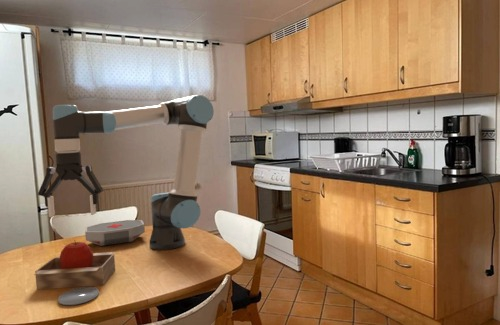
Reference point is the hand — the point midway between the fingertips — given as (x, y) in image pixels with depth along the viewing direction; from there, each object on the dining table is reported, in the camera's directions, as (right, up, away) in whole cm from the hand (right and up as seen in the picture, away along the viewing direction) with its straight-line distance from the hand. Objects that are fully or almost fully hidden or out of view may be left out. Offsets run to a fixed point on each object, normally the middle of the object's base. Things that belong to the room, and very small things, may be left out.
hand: (72, 215), depth 122 cm
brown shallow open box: (+1, -22, +2) cm, 22 cm away
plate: (+8, -23, -13) cm, 28 cm away
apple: (+1, -22, +2) cm, 23 cm away
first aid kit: (-2, -19, +46) cm, 50 cm away
